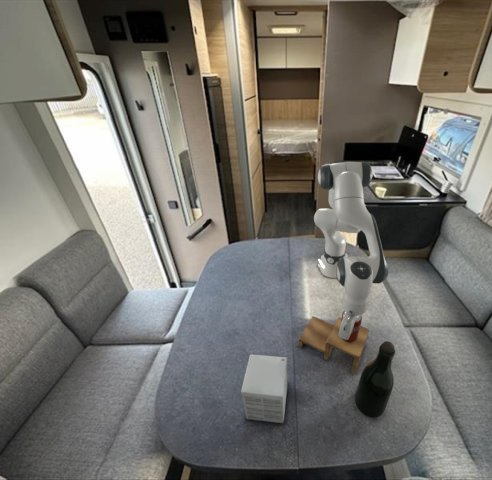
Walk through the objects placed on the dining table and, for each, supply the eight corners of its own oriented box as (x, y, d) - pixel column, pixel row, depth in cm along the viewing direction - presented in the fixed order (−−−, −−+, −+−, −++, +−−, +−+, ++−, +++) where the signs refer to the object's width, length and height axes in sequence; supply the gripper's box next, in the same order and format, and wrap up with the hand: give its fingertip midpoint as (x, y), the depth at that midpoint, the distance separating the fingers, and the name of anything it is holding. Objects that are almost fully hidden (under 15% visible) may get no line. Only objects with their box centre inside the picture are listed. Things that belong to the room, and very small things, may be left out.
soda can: (357, 344, 100) (362, 324, 94) (338, 341, 101) (342, 320, 95) (357, 329, 106) (362, 309, 100) (339, 326, 107) (342, 306, 101)
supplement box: (253, 380, 100) (249, 353, 90) (288, 384, 99) (287, 356, 89) (245, 419, 89) (240, 392, 79) (283, 423, 88) (283, 397, 78)
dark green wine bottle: (357, 383, 99) (372, 326, 81) (386, 394, 95) (408, 337, 77) (351, 411, 91) (367, 354, 73) (383, 424, 87) (407, 368, 69)
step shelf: (312, 323, 122) (313, 306, 116) (364, 345, 112) (369, 329, 106) (298, 346, 112) (299, 329, 106) (355, 373, 102) (359, 356, 96)
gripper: (354, 327, 85) (349, 352, 92) (370, 288, 100) (364, 313, 107) (336, 319, 87) (332, 345, 95) (354, 283, 102) (349, 307, 110)
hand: (349, 328), depth 101 cm, fingers closed on soda can, 7 cm apart
